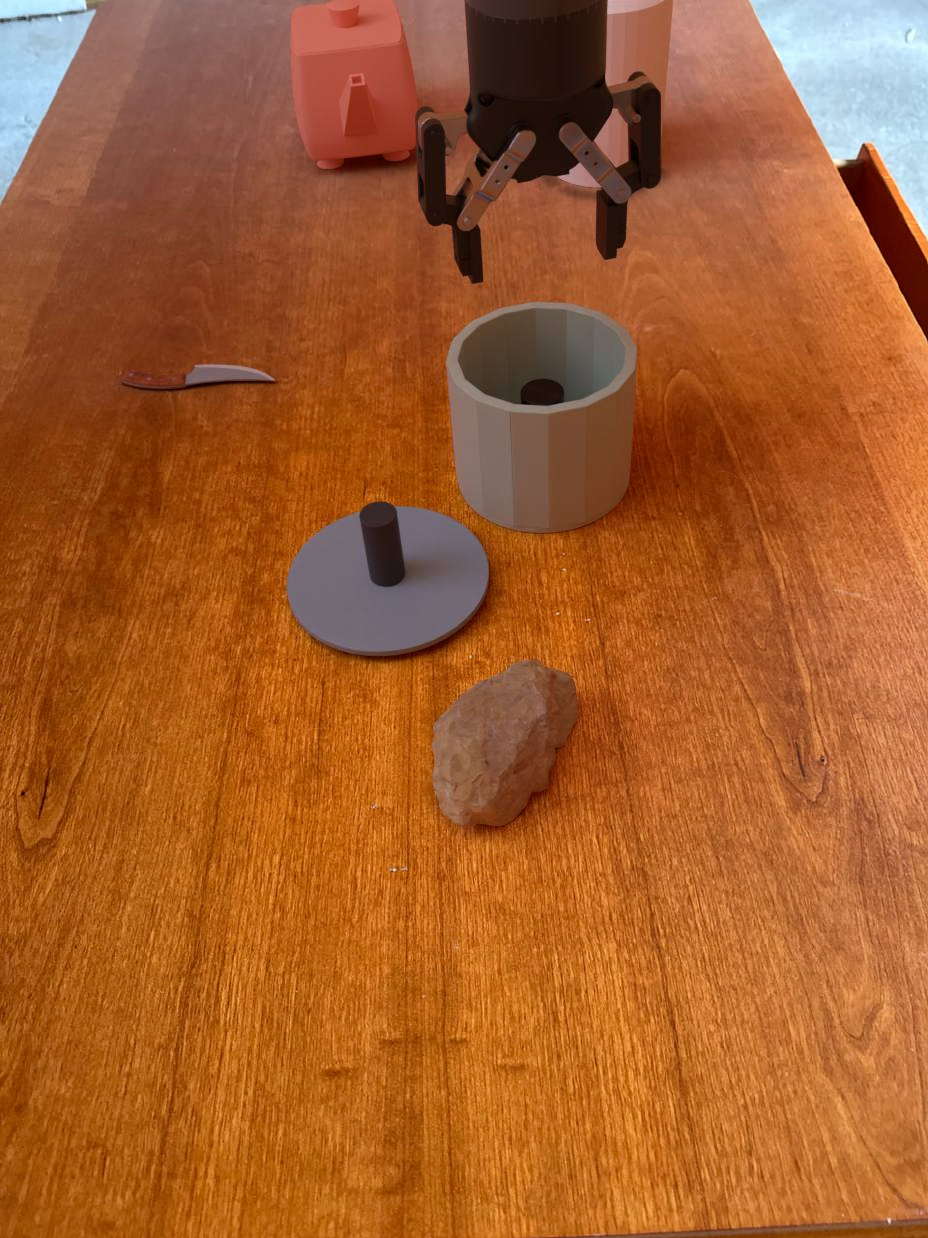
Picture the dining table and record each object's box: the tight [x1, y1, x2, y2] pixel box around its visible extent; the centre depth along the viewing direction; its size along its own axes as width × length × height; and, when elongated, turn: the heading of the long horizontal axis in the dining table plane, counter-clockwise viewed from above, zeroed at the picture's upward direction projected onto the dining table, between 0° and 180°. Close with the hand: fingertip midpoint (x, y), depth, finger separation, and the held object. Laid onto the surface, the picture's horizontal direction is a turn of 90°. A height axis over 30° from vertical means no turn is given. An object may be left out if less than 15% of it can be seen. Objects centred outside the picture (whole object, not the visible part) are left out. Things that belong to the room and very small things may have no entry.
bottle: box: [556, 0, 674, 189], centre depth 107 cm, size 12×12×25 cm
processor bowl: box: [445, 301, 639, 534], centre depth 80 cm, size 13×13×10 cm
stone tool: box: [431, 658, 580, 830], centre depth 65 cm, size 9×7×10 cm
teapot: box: [290, 0, 419, 170], centre depth 116 cm, size 22×13×14 cm, turn 7°
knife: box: [117, 364, 276, 390], centre depth 94 cm, size 13×1×3 cm
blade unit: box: [521, 379, 564, 406], centre depth 81 cm, size 8×6×7 cm
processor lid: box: [286, 500, 490, 657], centre depth 75 cm, size 14×14×7 cm
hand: (540, 264), depth 71 cm, fingers open, 8 cm apart
